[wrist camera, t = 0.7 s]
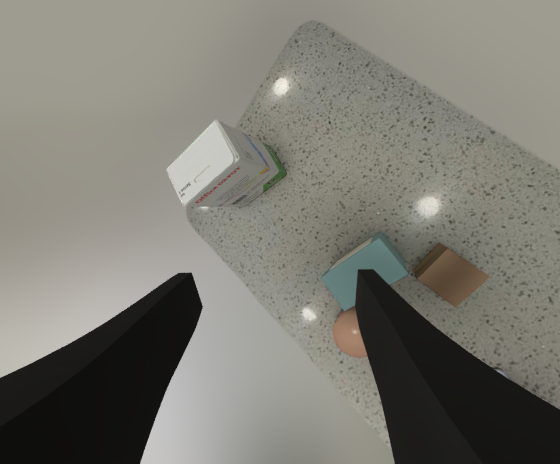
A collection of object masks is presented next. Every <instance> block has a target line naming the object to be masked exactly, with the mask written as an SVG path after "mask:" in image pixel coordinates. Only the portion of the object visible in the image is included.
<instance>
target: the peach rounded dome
mask: <svg viewBox="0 0 560 464" xmlns="http://www.w3.org/2000/svg"><path fill="white" fill-rule="evenodd" d="M333 337H334V341H335V343H336V344H337V346H338V347H339V348H340V349H341V350H342V351H343V352H344V353H346V354H348V355H350V356H353V357H366V356H367V353H366V349H365V346H364V343H363V340H362V337H361V333H360V330H359V325H358V320H357V315H356V310H355V306H353V307H351V308H349V309H347V310H346V311H344V310H342V311H341V312H340V314H339V316H338V318H337V320H336V323H335V325H334V328H333Z"/></svg>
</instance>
